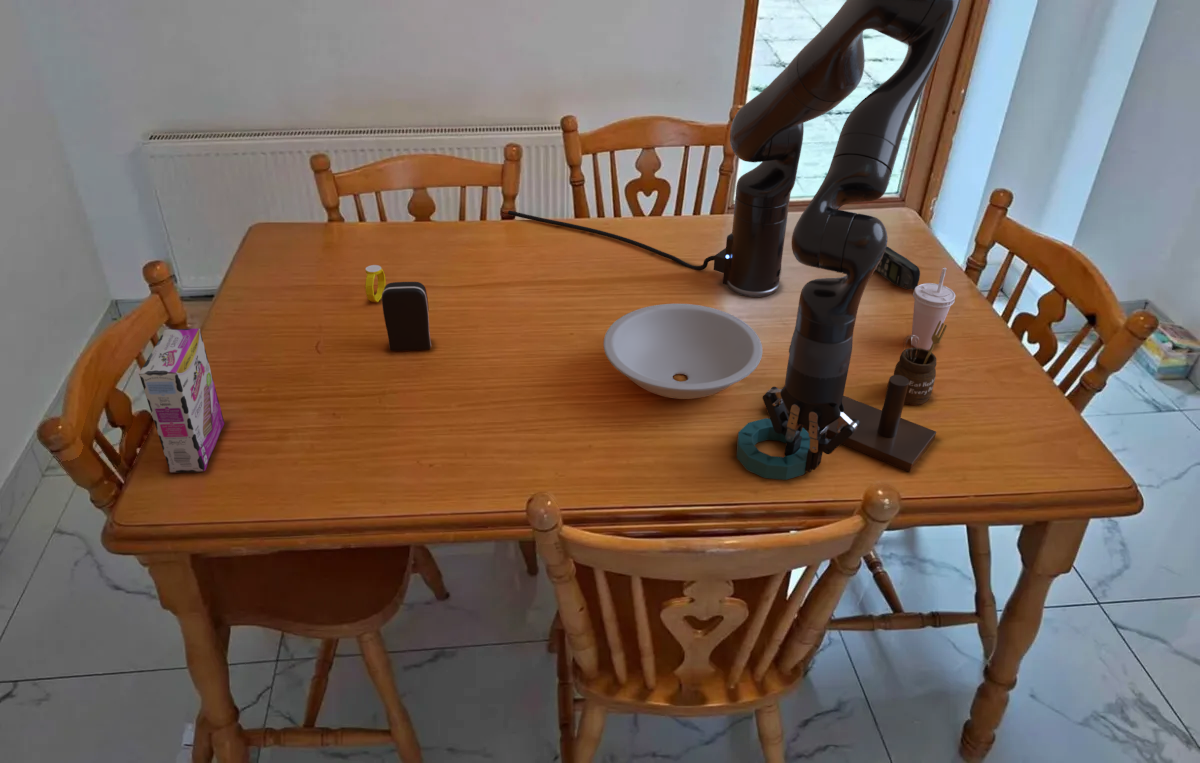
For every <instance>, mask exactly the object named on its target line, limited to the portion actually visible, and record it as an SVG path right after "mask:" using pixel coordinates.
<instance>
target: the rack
mask: <svg viewBox="0 0 1200 763" xmlns="http://www.w3.org/2000/svg"><path fill="white" fill-rule="evenodd" d="M887 382H888V383H887V388H886V391H885V395H884V399H883V400H884V401H883V405H882V409H879V408H877V407H874V406H872V405H870V404H866V403H865V402H862V401H859V400H856V399H853V398H851V397H848V396H846V395H844V394H843V398H842V403H843V406H844V413H845V414H846V415H847V416H848V417H849V418H850V419H851V420H852V419H858V420H859V421H860V426H859V427H858V428H857V429H856V430H855V432H854V433H853V434H852V435H851V436H850V437H849V438H847V439H846V440H845V441H844V442H843V443H842V444H841V445H843V446H846V447H848V448H851V449H853V450H856V451H858V452H860V453H863V454H865V455H867V456H870V457H872V458H874V459H877V460H880V461H882V462H884V463H886V464H889V465H890V466H894V467H896V468H898V469H901V470H903V471H906V472H908V473H911V472H912V470H913V469H914V467H915V466H916V465H917V464H918V462H919V461H920V460H921V458H922V457H923V455H924V454H925V453H927V452H926V451H927V450H928V449H929V448H930V446H931V445H932V444H933V442H934V441H935V439H936V436H937V431H936V430H934V429H931V428H929V427H927V426H926V427H925V426H923V425H921V424H917V423H916V422H912V421H910V420H908V419H905V418H903V417H902V414H903V409H904V405H905V403H904V401H905V397H906V393H907V389H908V384H909V380H908V379H907V378H906V377H904V376H901V375H894V374H892V375H890V376H889V378H888V381H887ZM783 403H784V402H783ZM784 405H785V403H784ZM785 408H786V406H785ZM786 411H787V414H788V417H789V416H790V414H789V412H788V410H787V408H786ZM767 414H768V412H767ZM837 426H838V421H837V420H835V421H834V422H832V423H831V424H829V427H828V430H827V435H826V439H831V438H832V437H833V436H835V435H836V434H837V433H838V432H837ZM803 428H804V429H805V430H806V431H809V427H807V426H806V425H803Z"/></svg>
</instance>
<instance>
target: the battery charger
mask: <svg viewBox="0 0 1200 763" xmlns="http://www.w3.org/2000/svg"><path fill="white" fill-rule="evenodd" d="M381 305H382V306H381V307H382V314H383V318H384V323H385V328H386V332H387V340H388V348H389V350H390V351H391V352H411V351H412V352H413V351H427V350H430V349H432V339H431V333H430V319H429V318H430V315H429V308H430V307H429V300H428V292H427V288H426V286H425V285H424V284H423V283H422V282H420V281H393V282H389V283H386V286H385V288H384V291H383V293H382V298H381Z"/></svg>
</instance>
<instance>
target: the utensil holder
mask: <svg viewBox="0 0 1200 763" xmlns="http://www.w3.org/2000/svg"><path fill="white" fill-rule="evenodd" d="M940 324H941V321H939V323H938V325H937V327H936V329H935V331H934V333H933V335H932V338H931V339H932V342H933V343H932V346H931V348H930V349H929V350H926V349H922V348H916V347H914V346H913V341H912V340H911V339H910V345H911V347H908V345H907V344H908V340H907V339H908V338H911V337H912V336H913V335H912V334H910V335H907V336H906V337H905V338H904V339H903V341H905V340H906V341H905V343H902V345H903V346H902V348H903V350H902V352H901V354H900V355H899V360H898V361H897V363H896V365H895V367H894V371H893V375H901V376H904V377H906V378H907V379H908V380H909V384H908V389H907V393H906V397H905V401H904V404H906V405H911V406H917V405H923V404H925V403H927V402H928V401H929V400H930V398H931V396H932V393H933V389H934V385H935V380H936V375H937V371H936V367H937V357H936V354H934V353H933V350H934V347H935V345H937V344H940V343H941V342H942V338H943V336H944V334H945V332H946V330H947V328H948V325H947V324H945V322H944V323H942V325H941V327H940V329H939V331H938V328H939V326H940ZM937 331H938V333H937ZM936 333H937V335H936ZM915 336H916V335H914V337H915ZM917 337H918V336H917ZM914 339H915V338H914ZM919 341H920V340H919ZM916 343H917V342H916ZM904 346H905V347H904Z"/></svg>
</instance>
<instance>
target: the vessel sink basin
mask: <svg viewBox="0 0 1200 763" xmlns="http://www.w3.org/2000/svg"><path fill="white" fill-rule="evenodd" d="M603 350H604V354H605V356H606V358H607V360H608V362H609V363H610V364H611V365H612V366H613V367H614V369H616V370H617V371H618V372H619V373H621V375H623V376H626V377H627V378H628V379H629V380H630V381H632V382H633V383H634V384H636V385H637V386H639V387H640V388H642V389H644V390H645V391H647V392H649V393H652V394H655V395H657V396H661V397H665V398H670V399H677V400H678V399H679V400H690V399H691V400H694V399H702V398H706V397H709V396H712V395H715V394H719V393H720V392H722V391H724V390H726V389H728V388H729V387H731V386H733V385H734V384H736V383H738V382H740V381H742V380H744V379H746V378H747V377H748V376H750V375H751V374H752V373H753V372H754V371H755V370H756V369H757V368H758V366H759V364H760V362H761V360H762V357H763V344H762V341H761V339H760V337H759V335H758V334H757V332H756V331H755V329H753V328H752V327H751V325H749V324H748V323H747V322H745V321H743V319H740V318H739V317H737V316H735V315H734V314H731V313H729V312H726V311H723V310H720V309H717V308H715V307H710V306H706V305H699V304H694V303H693V304H692V303H662V304H655V305H649V306H644V307H641V308H637V309H635V310H632V311H630V312H627V313H625V314H624V315H622V316H621V317H619V318H618V319H616V320H615V321H613V323H612V324H611V325H610V326H609V328H608V329H607V330H606V332H605V335H604V337H603ZM675 375H685V376H686V377H687V379H686V380H683V381H681V380H680V381H678V380H676V379H674V376H675Z"/></svg>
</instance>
